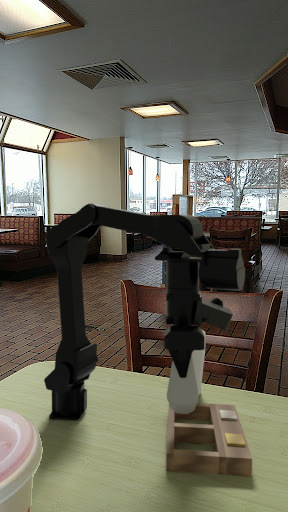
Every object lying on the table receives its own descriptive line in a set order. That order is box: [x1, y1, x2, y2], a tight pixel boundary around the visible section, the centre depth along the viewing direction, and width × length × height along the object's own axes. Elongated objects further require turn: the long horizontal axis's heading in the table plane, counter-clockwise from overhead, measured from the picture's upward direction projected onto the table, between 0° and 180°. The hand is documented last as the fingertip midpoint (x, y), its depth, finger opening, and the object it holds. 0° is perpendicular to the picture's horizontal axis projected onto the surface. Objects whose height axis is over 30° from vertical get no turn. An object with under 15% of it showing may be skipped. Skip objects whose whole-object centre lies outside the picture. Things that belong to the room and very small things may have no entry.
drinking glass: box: [192, 329, 206, 396], centre depth 89 cm, size 7×7×15 cm
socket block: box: [165, 402, 253, 478], centre depth 69 cm, size 14×18×3 cm
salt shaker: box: [166, 351, 200, 414], centre depth 67 cm, size 6×6×13 cm
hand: (182, 373), depth 67 cm, fingers closed on salt shaker, 3 cm apart
